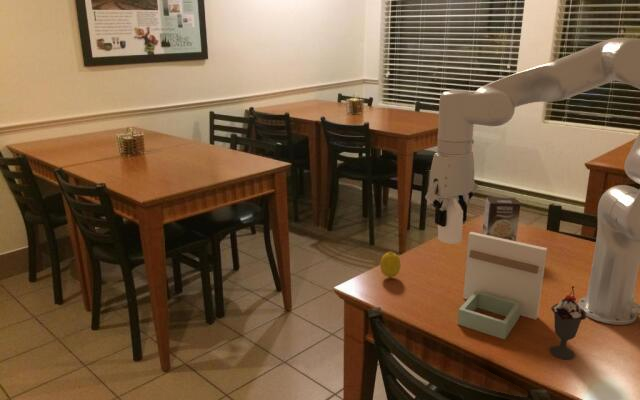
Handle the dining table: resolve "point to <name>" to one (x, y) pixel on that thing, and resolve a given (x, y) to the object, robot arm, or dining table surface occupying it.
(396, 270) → the lemon
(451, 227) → the white bottle
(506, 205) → the coffee box
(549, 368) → the dining table surface
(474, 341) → the dining table surface
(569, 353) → the sundae
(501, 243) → the wall holder
